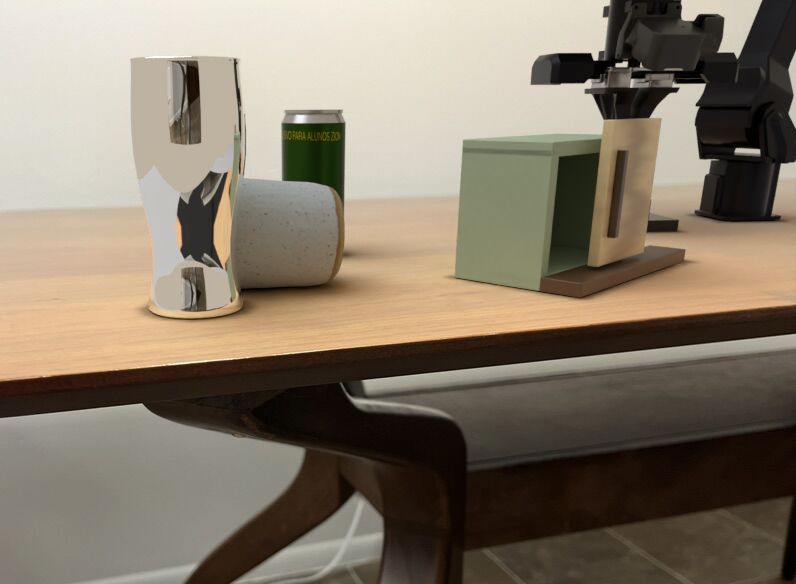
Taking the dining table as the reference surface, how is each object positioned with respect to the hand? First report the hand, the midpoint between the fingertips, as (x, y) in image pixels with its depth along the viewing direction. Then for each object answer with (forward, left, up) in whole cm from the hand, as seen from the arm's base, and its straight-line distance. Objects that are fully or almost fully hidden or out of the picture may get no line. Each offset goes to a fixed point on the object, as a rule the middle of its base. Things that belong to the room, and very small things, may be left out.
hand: (622, 160), depth 83 cm
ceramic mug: (+38, +23, -7) cm, 45 cm away
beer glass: (+43, +30, -7) cm, 53 cm away
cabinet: (+13, +21, -7) cm, 26 cm away
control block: (0, 0, -7) cm, 7 cm away
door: (+11, +24, -6) cm, 27 cm away
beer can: (+33, +12, -7) cm, 36 cm away
